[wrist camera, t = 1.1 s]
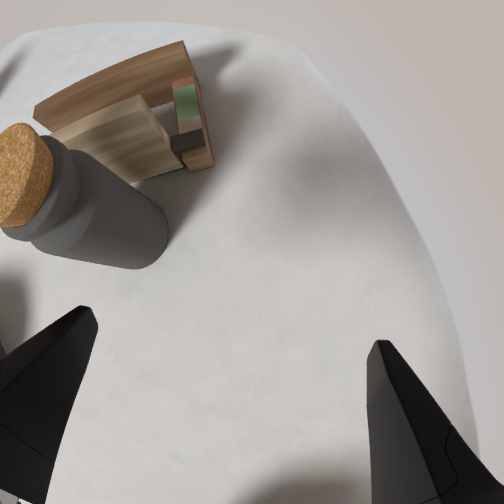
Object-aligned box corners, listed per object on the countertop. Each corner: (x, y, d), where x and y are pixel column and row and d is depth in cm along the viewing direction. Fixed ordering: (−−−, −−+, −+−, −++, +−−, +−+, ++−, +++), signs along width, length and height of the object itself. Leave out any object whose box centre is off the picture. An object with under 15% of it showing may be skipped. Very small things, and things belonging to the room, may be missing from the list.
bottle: (96, 237, 24) (-42, 189, 9) (138, 186, 24) (22, 93, 9) (136, 285, 23) (-13, 271, 8) (184, 230, 23) (66, 149, 9)
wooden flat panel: (212, 159, 24) (182, 95, 15) (63, 208, 24) (-3, 179, 15) (210, 146, 24) (180, 80, 15) (63, 196, 25) (-1, 165, 16)
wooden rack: (214, 166, 24) (197, 130, 18) (65, 213, 25) (24, 197, 19) (198, 81, 25) (182, 40, 19) (67, 131, 26) (35, 105, 20)
